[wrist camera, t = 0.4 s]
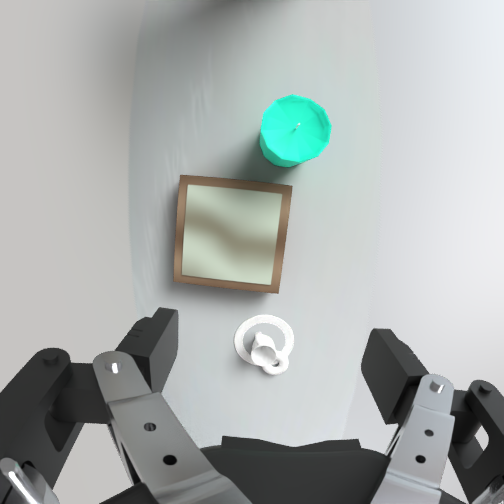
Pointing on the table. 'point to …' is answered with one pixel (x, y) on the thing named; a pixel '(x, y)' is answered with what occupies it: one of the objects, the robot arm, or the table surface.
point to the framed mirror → (231, 233)
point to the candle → (294, 131)
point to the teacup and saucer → (268, 353)
